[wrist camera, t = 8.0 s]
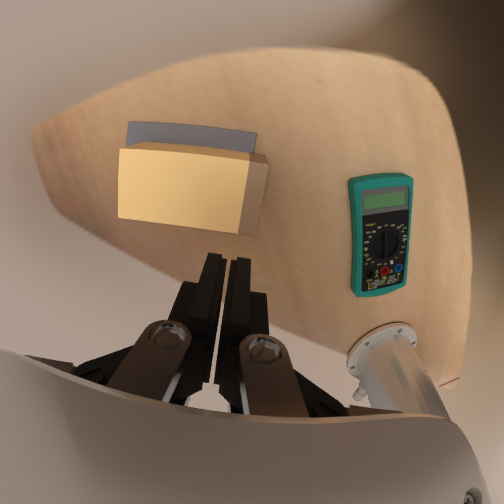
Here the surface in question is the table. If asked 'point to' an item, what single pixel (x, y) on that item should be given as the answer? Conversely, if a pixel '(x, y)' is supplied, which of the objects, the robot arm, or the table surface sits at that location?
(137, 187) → the ochre block
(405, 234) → the digital multimeter
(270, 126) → the table surface
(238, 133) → the mat
